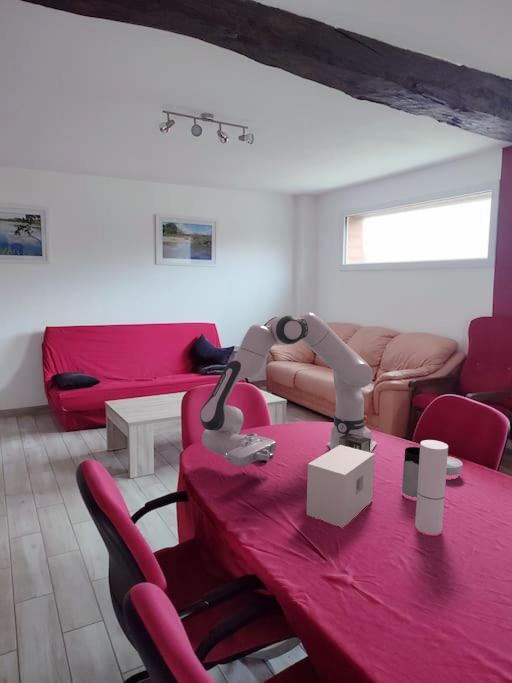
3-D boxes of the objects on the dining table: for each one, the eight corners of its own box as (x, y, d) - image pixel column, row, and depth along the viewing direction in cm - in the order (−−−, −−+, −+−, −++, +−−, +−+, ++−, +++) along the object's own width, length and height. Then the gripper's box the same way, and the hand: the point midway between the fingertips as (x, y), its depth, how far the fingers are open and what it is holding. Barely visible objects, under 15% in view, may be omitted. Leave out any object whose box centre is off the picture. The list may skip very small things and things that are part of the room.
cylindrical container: (441, 525, 132) (447, 441, 129) (442, 538, 126) (449, 450, 122) (415, 520, 135) (420, 438, 131) (414, 533, 128) (420, 447, 125)
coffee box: (369, 483, 159) (371, 438, 156) (359, 489, 154) (362, 443, 152) (346, 475, 165) (348, 432, 163) (336, 481, 160) (338, 436, 158)
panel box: (338, 490, 153) (339, 444, 151) (372, 502, 146) (374, 453, 143) (306, 515, 137) (307, 463, 135) (342, 528, 130) (345, 474, 128)
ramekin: (427, 478, 164) (428, 464, 163) (428, 466, 174) (429, 453, 173) (462, 484, 159) (463, 469, 159) (461, 471, 170) (462, 457, 169)
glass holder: (395, 495, 151) (398, 451, 148) (414, 481, 161) (417, 440, 159) (421, 504, 145) (424, 458, 143) (439, 489, 155) (442, 446, 153)
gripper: (220, 447, 156) (252, 457, 147) (256, 432, 172) (287, 440, 163) (219, 465, 157) (252, 476, 148) (256, 448, 173) (287, 457, 164)
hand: (271, 457), depth 156 cm, fingers closed
